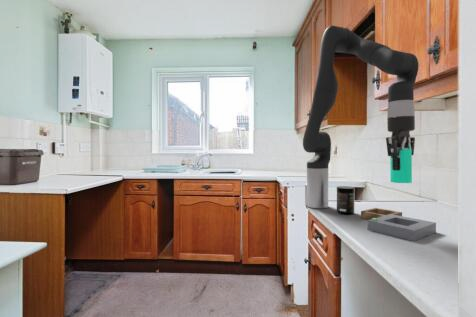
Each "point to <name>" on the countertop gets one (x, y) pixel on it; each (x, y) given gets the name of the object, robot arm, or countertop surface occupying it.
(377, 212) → the holder ring
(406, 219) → the frame
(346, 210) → the supplement container
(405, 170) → the candle
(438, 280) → the countertop surface
